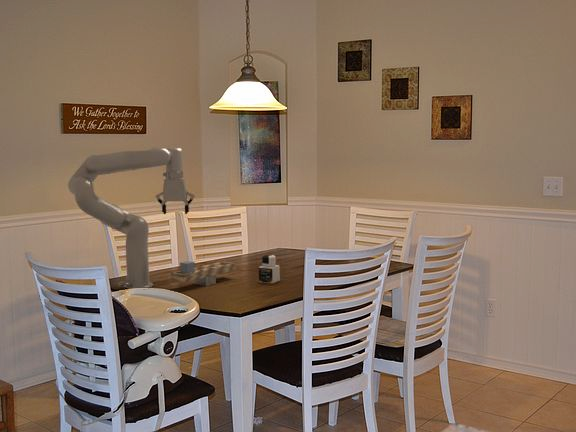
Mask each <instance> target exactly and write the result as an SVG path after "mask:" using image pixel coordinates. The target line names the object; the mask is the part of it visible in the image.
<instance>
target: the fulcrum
mask: <svg viewBox="0 0 576 432" xmlns="http://www.w3.org/2000/svg"><path fill="white" fill-rule="evenodd" d="M216 279H217V275H213V276H209V277H204V278H200V279H196V280H193V284H194V285H198V286H199V285H200V286H204V287H208V286H212V285H216V284H217V282H216V281H217V280H216Z"/></svg>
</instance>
